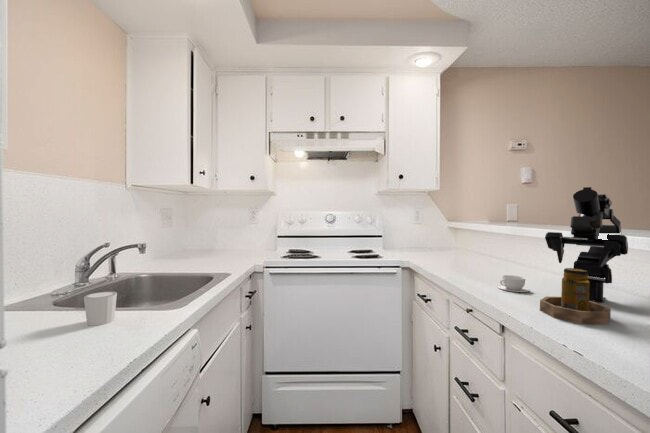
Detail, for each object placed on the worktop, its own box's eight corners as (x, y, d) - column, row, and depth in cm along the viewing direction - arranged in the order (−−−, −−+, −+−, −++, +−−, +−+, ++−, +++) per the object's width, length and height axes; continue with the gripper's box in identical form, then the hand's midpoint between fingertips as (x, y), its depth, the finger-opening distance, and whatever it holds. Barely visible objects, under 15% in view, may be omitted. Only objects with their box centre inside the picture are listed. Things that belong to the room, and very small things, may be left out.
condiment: (588, 310, 88) (589, 269, 87) (594, 319, 81) (595, 274, 80) (556, 306, 92) (557, 266, 91) (559, 314, 85) (560, 270, 84)
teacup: (516, 286, 119) (516, 274, 119) (536, 293, 109) (536, 280, 109) (492, 286, 119) (492, 274, 118) (509, 293, 109) (509, 280, 109)
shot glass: (78, 327, 74) (78, 299, 74) (91, 318, 81) (91, 291, 81) (111, 325, 76) (110, 297, 76) (121, 316, 83) (121, 290, 83)
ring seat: (550, 303, 96) (550, 294, 96) (613, 315, 85) (613, 305, 85) (535, 313, 87) (535, 302, 87) (603, 328, 76) (603, 316, 76)
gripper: (546, 207, 100) (535, 243, 93) (627, 206, 85) (619, 249, 79) (554, 230, 105) (543, 266, 98) (630, 233, 90) (624, 275, 84)
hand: (579, 264), depth 90 cm, fingers open, 9 cm apart
